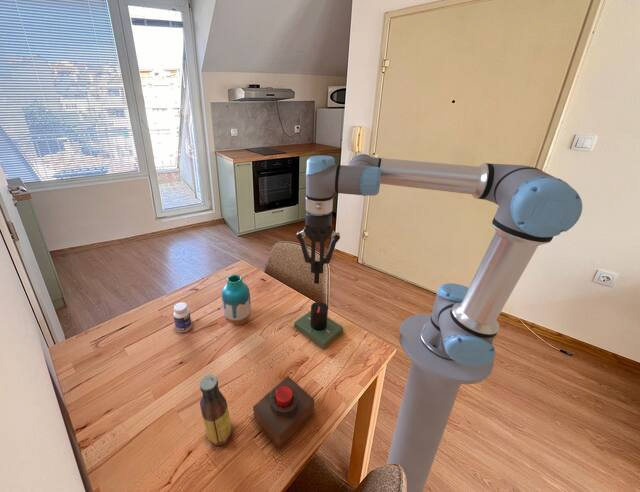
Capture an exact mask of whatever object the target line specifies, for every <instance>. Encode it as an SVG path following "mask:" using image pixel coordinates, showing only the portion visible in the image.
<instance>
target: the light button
mask: <svg viewBox="0 0 640 492" xmlns="http://www.w3.org/2000/svg"><path fill="white" fill-rule="evenodd" d="M276 403H277V404H278V405H279V406H281V407H287V406H289V405H290V404H291V403H292V391H291V389H290V388H289V387H287V386H281V387H279V388H278V389H277V390H276Z"/></svg>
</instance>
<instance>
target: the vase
mask: <svg viewBox="0 0 640 492" xmlns="http://www.w3.org/2000/svg"><path fill="white" fill-rule="evenodd" d="M251 301H252V299H251V292H250V288H249V286H248V284H247V283H245V282H244V281H243V277H242V276H241V275H240V274H230V275H229V276H227V278H226V284H225V285H224V286H223V288H222V290H221V304H222V305H221V306H222V311H223V315H224V318H225V320H226V321H227V322H228V323H229V324H232V325H241V324H244V323H245V322H247V321H248V319H249V318H250V316H251V311H252V303H251Z"/></svg>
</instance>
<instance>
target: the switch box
mask: <svg viewBox="0 0 640 492" xmlns="http://www.w3.org/2000/svg"><path fill="white" fill-rule="evenodd" d="M281 386H287V387H289V388H290V389H291V391H292V403H291V404H290V405H289V406H287V407H281V406H279V405H278V404H277V403H276V390H277V389H278V388H279V387H281ZM252 410H253V421H254V422H255V423H256V424H257V426H258V427H260V429H261V430H262V431H263V432H264V433H265V434H266V436H267V437H268V438H269V439H270V440H271V441H272V443H274V446H276V447H277V449H278V450H281V448H283V446H284V445H285V444H286V443H288V441H289V440H290V439H291V438H292V437H293V436H294V435H295V433H297V431H298V430H299V429H300V428H301V427H302V426H303V425H304V424H305V422H307V420H309V419H310V417H311V416H312V415H313V414H314V411H315V399H314V398H313V397H312V396H311V395H310V394H309V393H308V392H307V391H305V389H303V388H302V386H300V385H299V384H298V383H297V382H295V380H293V379H292V378H291V377H290V376H289V375H287V376H285V378H283V379H282V381H280V382H279V383H278V384H277V385H276V386H275V387H273V388H272V389H271V390H270V391H269V392H268V393H266V394H265V395H264V396H263V397H262V398H261V399H260V400H259V401H257V402H256V403H255V404H254V405H253V406H252Z"/></svg>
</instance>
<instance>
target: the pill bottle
mask: <svg viewBox="0 0 640 492" xmlns="http://www.w3.org/2000/svg"><path fill="white" fill-rule="evenodd" d="M172 315H173V320H174V326H175V330H176V331H177V332H178V333H185V332H188V331H189V330H190V329H191V328H192V319H191V311H190V308H188V304H187V303H186V302H182V301H181V302H178V303H176V304H174V306H173V314H172Z"/></svg>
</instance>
